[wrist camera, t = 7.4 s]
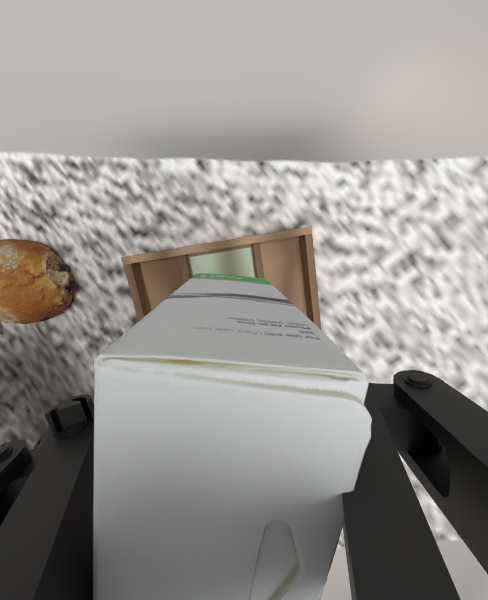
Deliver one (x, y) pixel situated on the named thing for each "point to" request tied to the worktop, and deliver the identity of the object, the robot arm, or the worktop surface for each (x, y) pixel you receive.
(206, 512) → the ink box
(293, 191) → the worktop surface
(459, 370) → the worktop surface
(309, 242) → the tray
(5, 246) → the bread roll
